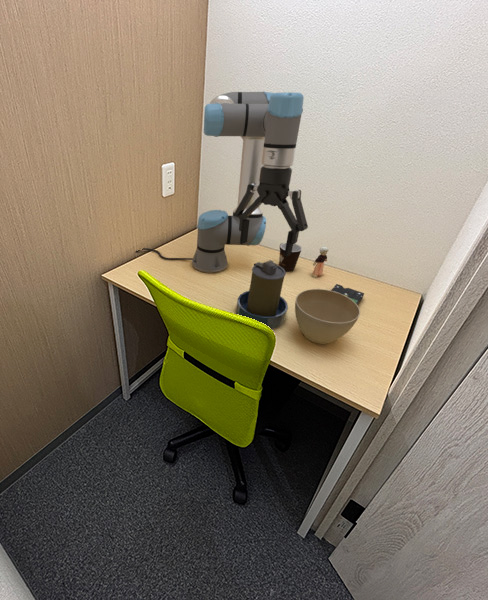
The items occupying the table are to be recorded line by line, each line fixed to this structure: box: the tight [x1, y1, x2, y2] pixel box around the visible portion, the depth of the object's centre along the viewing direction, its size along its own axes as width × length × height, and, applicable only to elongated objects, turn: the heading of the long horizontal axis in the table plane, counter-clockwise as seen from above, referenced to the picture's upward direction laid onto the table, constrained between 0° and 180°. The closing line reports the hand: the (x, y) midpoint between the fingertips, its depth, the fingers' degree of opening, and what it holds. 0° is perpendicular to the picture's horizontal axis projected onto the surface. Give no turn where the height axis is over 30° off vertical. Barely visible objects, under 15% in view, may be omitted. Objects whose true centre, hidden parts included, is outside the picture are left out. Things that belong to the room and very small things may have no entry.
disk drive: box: [330, 283, 365, 306], centre depth 122 cm, size 10×3×15 cm
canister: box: [246, 259, 287, 317], centre depth 111 cm, size 11×10×20 cm
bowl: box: [235, 290, 289, 330], centre depth 115 cm, size 17×17×5 cm
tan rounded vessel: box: [294, 288, 361, 345], centre depth 104 cm, size 18×18×12 cm
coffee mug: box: [278, 242, 303, 273], centre depth 142 cm, size 12×9×10 cm
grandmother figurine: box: [311, 246, 329, 278], centre depth 136 cm, size 8×4×13 cm, turn 131°
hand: (264, 248), depth 93 cm, fingers open, 13 cm apart
